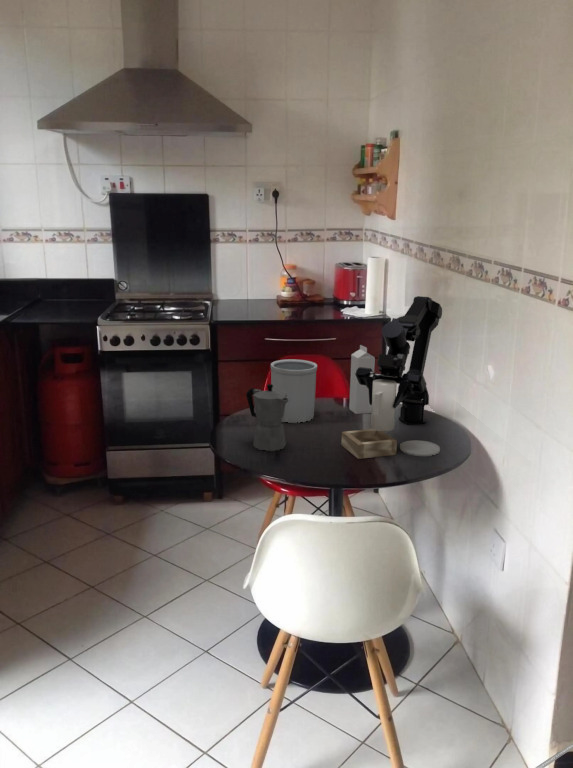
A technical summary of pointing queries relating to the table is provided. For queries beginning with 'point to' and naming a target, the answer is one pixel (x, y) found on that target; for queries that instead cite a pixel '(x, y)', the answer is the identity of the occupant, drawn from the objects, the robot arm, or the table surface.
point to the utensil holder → (295, 387)
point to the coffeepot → (268, 417)
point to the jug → (383, 404)
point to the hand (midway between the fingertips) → (382, 405)
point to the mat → (419, 448)
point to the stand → (368, 443)
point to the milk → (358, 391)
